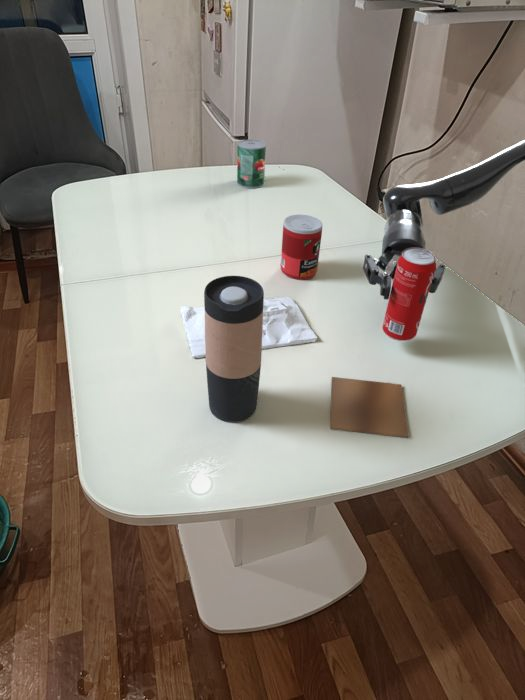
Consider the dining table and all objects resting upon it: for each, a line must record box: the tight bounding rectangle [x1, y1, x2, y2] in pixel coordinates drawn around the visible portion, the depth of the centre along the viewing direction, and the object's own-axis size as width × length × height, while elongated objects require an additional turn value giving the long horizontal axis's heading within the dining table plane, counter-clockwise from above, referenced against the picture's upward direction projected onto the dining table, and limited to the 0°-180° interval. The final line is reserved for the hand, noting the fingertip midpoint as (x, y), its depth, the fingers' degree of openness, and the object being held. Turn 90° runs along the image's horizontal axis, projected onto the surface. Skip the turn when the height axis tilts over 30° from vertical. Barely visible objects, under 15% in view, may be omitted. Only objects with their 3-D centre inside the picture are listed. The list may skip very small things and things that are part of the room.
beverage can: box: [382, 247, 437, 342], centre depth 82 cm, size 6×6×15 cm
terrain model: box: [179, 296, 318, 359], centre depth 90 cm, size 17×23×5 cm
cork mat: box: [330, 376, 410, 439], centre depth 77 cm, size 11×11×1 cm
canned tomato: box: [236, 139, 267, 189], centre depth 143 cm, size 8×8×11 cm
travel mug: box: [203, 275, 265, 423], centre depth 70 cm, size 8×8×20 cm
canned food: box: [280, 214, 323, 280], centre depth 105 cm, size 8×8×11 cm
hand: (403, 296), depth 80 cm, fingers closed on beverage can, 4 cm apart
